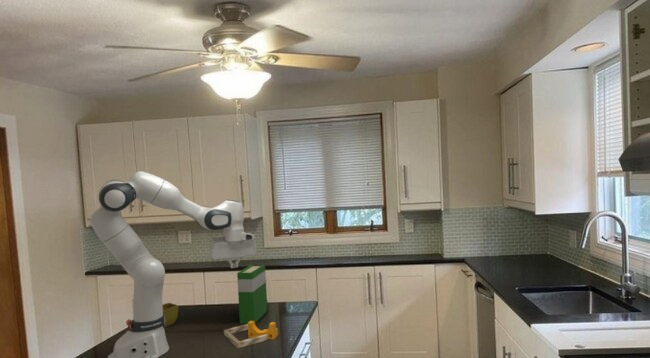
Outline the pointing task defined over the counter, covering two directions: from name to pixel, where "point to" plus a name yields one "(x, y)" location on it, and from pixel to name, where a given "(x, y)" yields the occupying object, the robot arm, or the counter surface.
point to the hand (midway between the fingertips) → (234, 267)
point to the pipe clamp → (255, 332)
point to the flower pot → (170, 313)
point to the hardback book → (252, 293)
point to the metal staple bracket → (243, 343)
